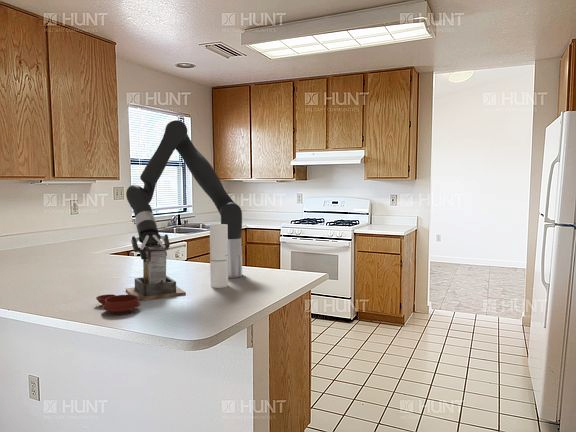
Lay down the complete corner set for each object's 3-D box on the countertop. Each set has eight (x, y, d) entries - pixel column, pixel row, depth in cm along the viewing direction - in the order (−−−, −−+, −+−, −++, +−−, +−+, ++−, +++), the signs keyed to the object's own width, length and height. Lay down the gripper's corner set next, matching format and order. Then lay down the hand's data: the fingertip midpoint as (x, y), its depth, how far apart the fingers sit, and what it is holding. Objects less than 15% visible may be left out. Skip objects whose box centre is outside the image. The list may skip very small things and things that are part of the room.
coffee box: (142, 287, 167) (142, 246, 166) (159, 286, 170) (159, 245, 169) (149, 293, 159) (149, 249, 158) (166, 291, 163) (166, 248, 162)
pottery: (113, 319, 132) (112, 305, 132) (85, 307, 146) (84, 294, 146) (147, 311, 141) (147, 298, 141) (118, 300, 155) (118, 288, 154)
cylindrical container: (231, 284, 178) (230, 224, 177) (223, 288, 172) (222, 225, 170) (215, 283, 181) (215, 223, 179) (207, 287, 174) (206, 225, 172)
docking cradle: (171, 285, 177) (171, 273, 177) (185, 294, 162) (185, 281, 161) (125, 290, 168) (125, 278, 167) (136, 301, 152) (135, 287, 152)
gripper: (128, 219, 166) (136, 254, 157) (166, 218, 174) (175, 251, 165) (126, 232, 171) (133, 266, 162) (162, 230, 179) (171, 262, 169)
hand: (154, 258), depth 163 cm, fingers open, 7 cm apart
